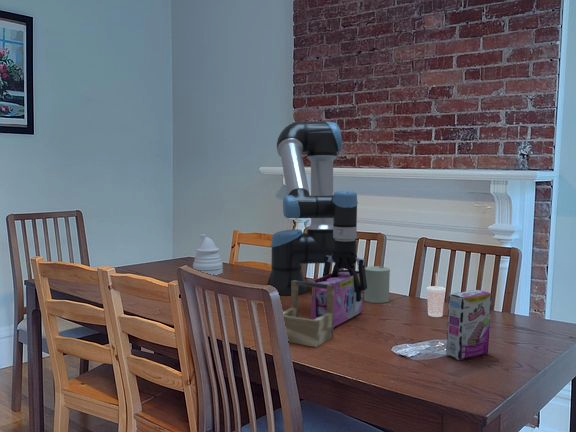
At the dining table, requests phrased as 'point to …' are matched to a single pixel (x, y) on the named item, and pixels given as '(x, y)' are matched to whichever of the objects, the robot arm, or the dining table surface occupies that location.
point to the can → (377, 284)
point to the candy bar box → (468, 324)
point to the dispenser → (305, 328)
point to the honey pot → (208, 257)
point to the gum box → (336, 297)
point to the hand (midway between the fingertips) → (343, 309)
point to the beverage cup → (435, 300)
